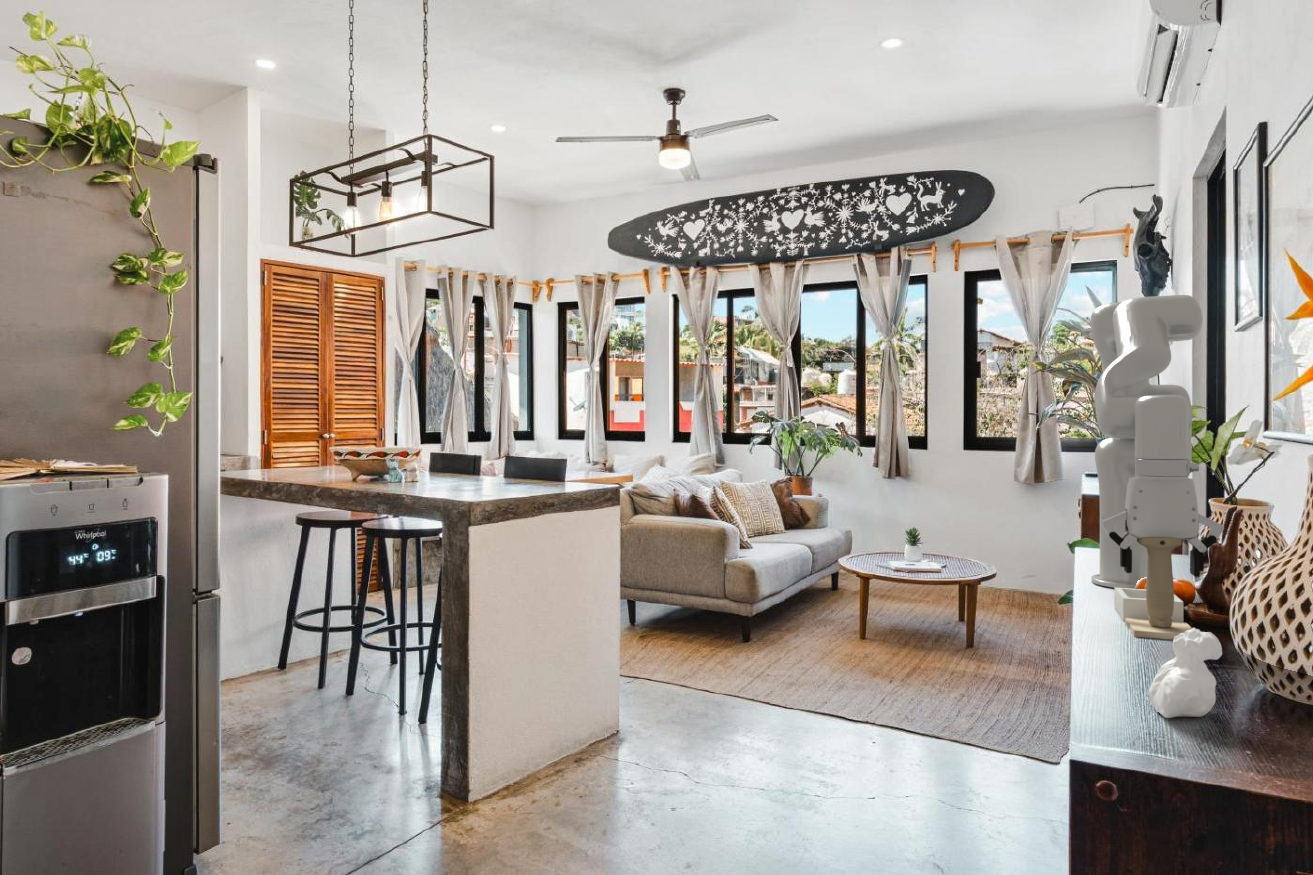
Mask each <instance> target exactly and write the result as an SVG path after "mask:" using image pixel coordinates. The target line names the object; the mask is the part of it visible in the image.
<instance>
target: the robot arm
mask: <svg viewBox="0 0 1313 875" xmlns="http://www.w3.org/2000/svg"><path fill="white" fill-rule="evenodd" d="M1202 326H1203V310H1202V308H1201V305H1200V304H1199V302H1198V300H1197V299H1196V298H1195V297H1193V296H1192V295H1188V294H1174V295H1173V294H1171V295H1157V296H1140V297H1134V298H1130V299H1127V300H1124V301H1120V302H1119V301H1118V302H1112V303H1106V304H1103V305H1100V306H1098V307H1096V308H1095V309H1094V310H1093V311H1092V313H1091V316H1090V330H1091V331H1090V332H1091V336H1092V340H1093V343H1094V346H1095V348H1096V351H1097V352H1098V356H1099V358H1100V362H1101V365H1102V367H1101V368H1102V373H1101V375H1100V376H1099V378H1098V380H1097V383H1096V386H1095V391H1094V392H1095V393H1094V402H1095V403H1094V404H1095V413H1096V422H1097V426H1098V429H1099V431H1100V433H1101V434H1103V436H1105V437H1107V438H1105V439H1103V440H1101V441H1100V442H1099V443H1098V444H1097V445H1096V447H1095V450H1094V461H1095V467H1096V472H1097V473H1096V474H1097V480H1098V490H1099V492H1098V493H1099V494H1098V496H1099V574H1093V575H1092V576H1091V577H1090V578H1091V582H1092V583H1093V584H1095V585H1098V586H1102V587H1106V588H1112V589H1114V587H1115V588H1131V589H1134V588H1135V586H1136V583H1137V581H1138V580H1140V579H1141V578H1144V577H1147V560H1148V553H1147V548H1146V547H1144V546H1142V545H1140V544H1139V543H1138V542H1137V538H1145V537H1162V538H1177V539H1180V540H1182V541H1186V540H1187V542H1188V543H1189V544H1190V545H1191V546H1192V549H1191V550H1189V574H1191V575H1192V576H1194V577H1196V578H1200V576H1201V575H1200V573H1201V572H1204V566H1205V562H1204V561H1205V560H1204V558H1205V557H1204V556H1205V555H1204V553H1205V552H1207V551H1208V549H1209V548H1210V547H1211V546H1213V545H1214V544H1216V543H1217V540H1218V539H1219V537H1220V536H1221V534H1222V532H1223V531H1224V529H1225V526H1224V525H1223V524H1220V523H1218V522H1216V521H1214V520H1213V519H1211V518H1208V517H1206V516H1204V515H1202V514H1200V513H1199V506H1198V498H1197V492H1196V486H1195V481H1194V479H1193V478H1189V476H1190V475H1191V474H1192V473H1194V472H1199V470H1200V465H1199V463H1197V462H1196V463H1194V462H1192V456H1193V455H1192V454H1193V453H1192V450H1193V449H1192V446H1193V445H1192V444H1193V443H1192V441H1193V440H1192V437H1193V436H1192V434H1193V433H1192V432H1193V431H1192V430H1193V428H1192V427H1193V426H1192V425H1193V418H1194V417H1193V408H1192V403H1191V397H1190V394H1189V393H1188V391H1187V390H1186V388H1184V387H1182V386H1181V385H1178V384H1151V383H1150V379H1152V378H1154V377H1157V376H1158V375H1160V374H1162V373H1163V372H1164V371H1165V370H1167V368H1169V366H1170V364H1171V362H1172V351H1171V346H1170V342H1183V341H1190V340H1193V339H1195V338H1196V337H1197V336H1198V335H1199V333H1200V332H1201V330H1202ZM1200 524H1202V525H1204V526H1205V527H1208V528H1209V532H1208V534H1207V535H1205V536H1204V537H1202V539H1199V537H1198V536H1199V532H1200Z"/></svg>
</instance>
